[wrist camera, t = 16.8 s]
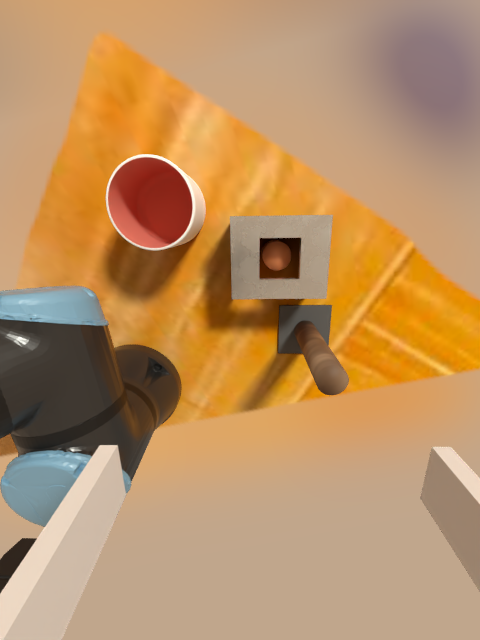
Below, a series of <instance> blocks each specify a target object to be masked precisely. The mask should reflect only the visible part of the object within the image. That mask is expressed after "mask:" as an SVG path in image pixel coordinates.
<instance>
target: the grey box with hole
mask: <svg viewBox="0 0 480 640" xmlns="http://www.w3.org/2000/svg"><path fill="white" fill-rule="evenodd" d="M332 218H333V215H298V216H230V239H231V285H232V299H326V295H327V282H328V269H329V257H330V244H331V231H332ZM260 238H300V250H299V271H298V278H259V256H260Z"/></svg>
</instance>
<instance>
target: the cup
mask: <svg viewBox="0 0 480 640" xmlns="http://www.w3.org/2000/svg"><path fill="white" fill-rule="evenodd" d="M106 206H107V211H108V215H109V217H110V220H111V222H112V224H113V226H114V227H115V229H116V230H117V231H118V233H119V234H120V235H121V236H122V237H123V238H124V239H125V240H127V241H128V242H129V243H131V244H132V245H134V246H136V247H139V248H141V249H145V250H151V251H159V250H165V249H168V248H172V247H175V246H178V245H182V244H184V243H187V242H189V241H190V240H192V239H193V238H194V237H195V236H196V235H197V234H198V233H199V231H200V230H201V228H202V226H203V223H204V220H205V214H206V207H205V200H204V197H203V194H202V192H201V190H200V188H199V187H198V185H197V184H196V183H195V181H194V180H193V179H192V178H190V177H189V176H188V175H187V174H186V173H184V172H183V171H182V170H181V169H180V168H179V167H177V166H176V165H175V164H174V163H172V162H171V161H169V160H167V159H165V158H163V157H160V156H156V155H150V154H143V155H137V156H134V157H131V158H129V159H127V160H125V161H124V162H122V163H121V164H120V165H119V166H118V167H117V168H116V169H115V171H114V172H113V174H112V175H111V177H110V180H109V182H108V186H107V190H106Z"/></svg>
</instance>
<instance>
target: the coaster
mask: <svg viewBox="0 0 480 640" xmlns="http://www.w3.org/2000/svg"><path fill="white" fill-rule="evenodd" d="M331 308H332V305H279V339H278V353H303V352H302V350H301V348H300V346H299V343H298V341H297V339H296V336H295V334H294V328H295V326H296V325H297V324H298V323H299V322H301V321H305V320H306V321H310V322H312V323H313V324H314V326H315V327H316V329H317V330H318V332H319V333H320V335H321V336H322V337H323V339H324V340H325V342H326V343H327V345H328V344H329V332H330V320H331Z"/></svg>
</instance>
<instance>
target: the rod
mask: <svg viewBox="0 0 480 640" xmlns="http://www.w3.org/2000/svg"><path fill="white" fill-rule="evenodd" d="M294 334H295V336H296V339H297V341H298V343H299V346H300V348H301V350H302V352H303V355H304V357H305V359H306V362H307V364H308V366H309V368H310V371H311V373H312V375H313V378H314V380H315V382H316V385H317V387H318V389H319V390H320V391H321V392H322V393H324V394H327V395H336V394H339V393H341V392H342V391H344V390H345V388H346V387H347V385H348V382H349V378H348V375H347V373H346V372H345V370H344V369H343V367H342V366H341V364H340V363H339V361H338V360H337V358H336V357H335V355H334V354H333V352H332V351H331V349H330V348H329V346H328V345H327V343H326V342H325V340H324V339H323V337H322V336H321V335H320V333H319V332H318V330H317V329H316V327H315V326H314V324H313V323H312V322H310V321H306V320H305V321H301V322H299V323H298V324H297V325H296V326H295V328H294Z"/></svg>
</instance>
